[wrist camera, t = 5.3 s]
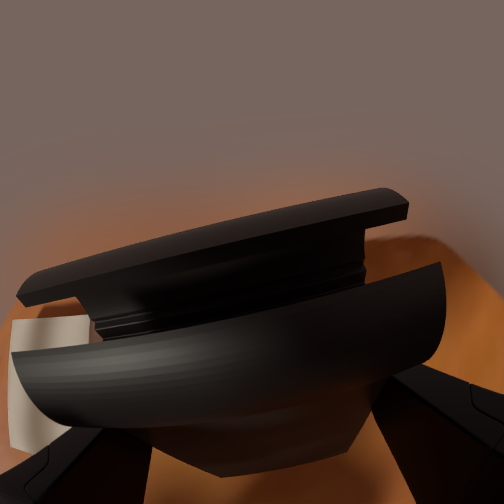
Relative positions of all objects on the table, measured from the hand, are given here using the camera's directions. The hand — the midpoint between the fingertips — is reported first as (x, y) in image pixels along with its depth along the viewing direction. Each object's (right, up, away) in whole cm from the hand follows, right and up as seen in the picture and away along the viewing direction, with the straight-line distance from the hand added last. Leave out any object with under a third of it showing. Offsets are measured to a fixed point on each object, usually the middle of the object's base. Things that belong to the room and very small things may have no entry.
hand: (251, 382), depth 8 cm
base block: (-15, -8, +10) cm, 20 cm away
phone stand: (+1, -3, +6) cm, 7 cm away
